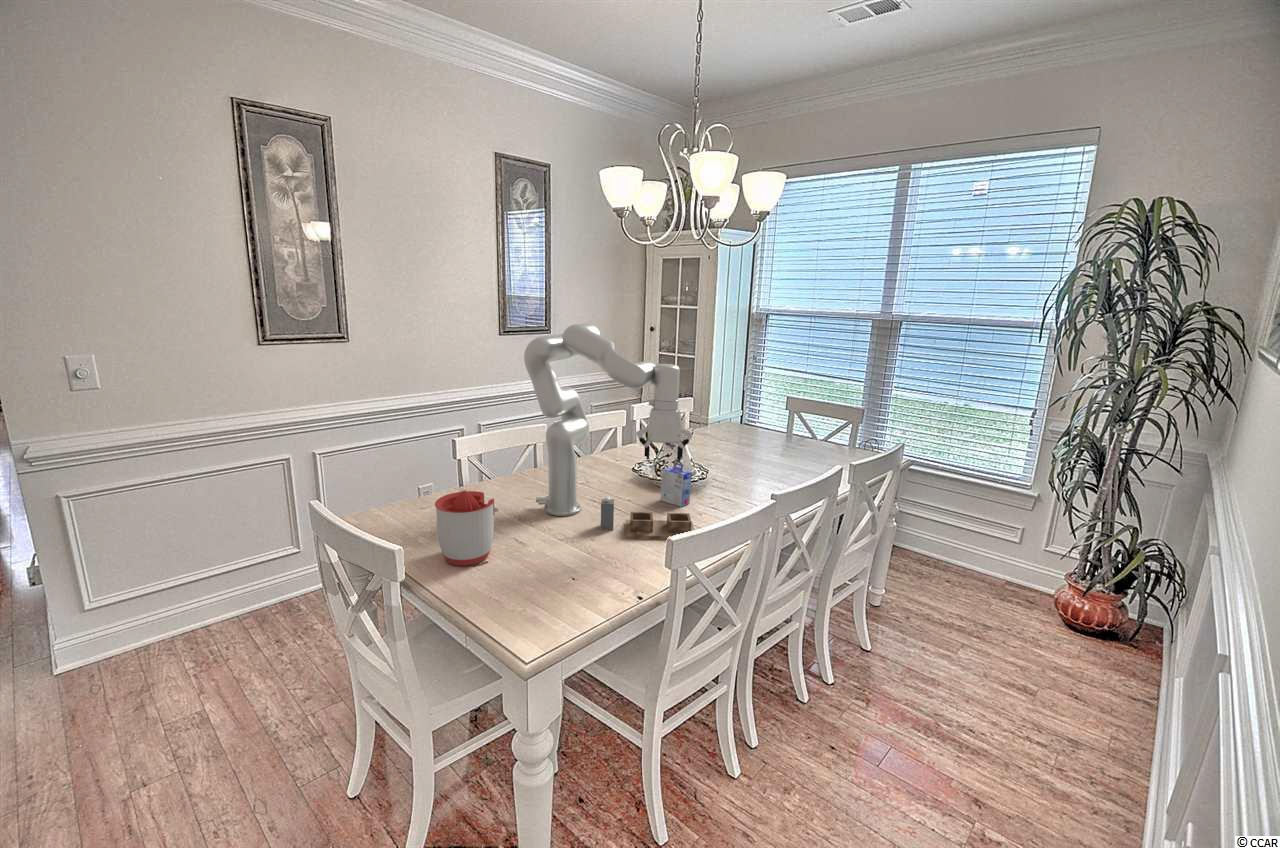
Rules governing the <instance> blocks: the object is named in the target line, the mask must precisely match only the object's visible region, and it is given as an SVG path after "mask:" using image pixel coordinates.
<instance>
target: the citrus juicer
mask: <svg viewBox="0 0 1280 848" xmlns="http://www.w3.org/2000/svg"><path fill="white" fill-rule="evenodd" d="M434 505H435V512H436V530H437V532H436V533H437V538H438V539H437V540H438V544H439V546H440V549H441V553H442V556H443V558H444V560H445V562H447V563H448V564H450V565H454V566H459V567H465V566H472V565H476V564H479V563H482V562H483V561H485V560H486V559H487V558H488V556H489V554H490V553H491V552H490V551H491V549H492V545H493V542H494V534H495V533H494V531H495V528H494V527H495V522H494V521H495V519H494V517H495V513H499V511H500V510H499V509H498V507H495V498H491V499H490V500H488V502H487V503H485V492H482V491H477V490H476V491H473V490H472V491H470V490H462V491H457V492H452V493H448V494H445V495H443V496H441V497H439V498H438V499H437V500H436V501H435V503H434Z"/></svg>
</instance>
